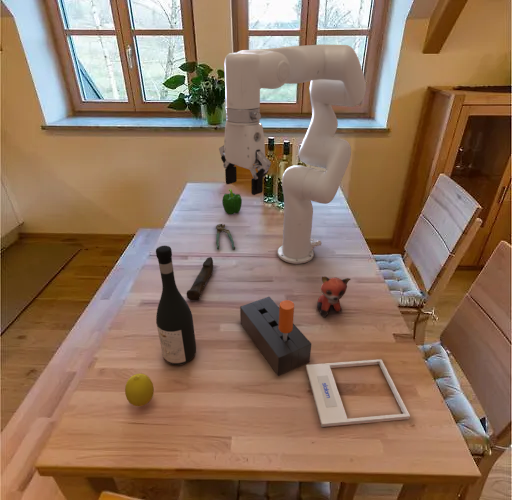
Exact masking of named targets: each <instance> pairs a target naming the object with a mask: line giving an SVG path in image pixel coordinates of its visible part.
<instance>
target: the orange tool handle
mask: <svg viewBox="0 0 512 500" xmlns="http://www.w3.org/2000/svg"><path fill="white" fill-rule="evenodd" d="M294 315H295V303H294V302H293V301H291V300H289V299H285V300H282V301H280V303H279V330H280V331H281V332H282V333H283V342H285V341H287V334H288V333H290V332H291V331H292V330H293V324H294Z"/></svg>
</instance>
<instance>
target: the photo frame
mask: <svg viewBox="0 0 512 500" xmlns="http://www.w3.org/2000/svg"><path fill="white" fill-rule="evenodd" d="M373 365H374V366H375V365H379V367H380V369H381V371H382V373H383V375H384V378H385V379H386V381H387V384H388V386H389V387H390V390H391V392H392V394H393V396H394V398H395V400H396V402H397V404H398V406H399V408H400V410H401V412H402V413H397V414H385V415H383V414H382V415H373V416H361V417H349V418H348V416H347V413H346V410H345V407H344V405H343V401H342V399H341V396H340V393H339V390H338V387H337V383H336V380H335V378H334V375H333V372H332V369H335V368H336V369H337V368H347V367H360V366H361V367H362V366H373ZM305 370H306V374H307V378H308V380H309V385H310V389H311V392H312V396H313V400H314V404H315V408H316V411H317V415H318V419H319V423H320V426H321V427H322V428H325V427H334V426H336V427H337V426H347V425H348V426H349V425H357V424H368V423H369V424H370V423H379V422H381V423H382V422H392V421H402V420H410V419H411V414H410V413H409V411H408V409H407V407H406V405H405V402H404V401H403V399H402V397H401V395H400V393H399V392H398V389H397V387H396V385H395V383H394V381H393V379H392V377H391V375H390V373H389V371H388V369H387V367H386V365H385V363H384V360H383V359H382V358H378V359H364V360H353V361H351V360H350V361H338V362H327V363H325V362H324V363H312V364H305Z"/></svg>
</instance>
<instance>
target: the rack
mask: <svg viewBox="0 0 512 500" xmlns="http://www.w3.org/2000/svg"><path fill="white" fill-rule="evenodd" d="M279 308H280V306H279V305H277V303H276V302H275V301H274V300H273V298H271V296H267V297H263V298H261V299H259V300H254V301H252V302H249V303H246V304H243V305H241V306H239V312H240V316H239V317H240V325H241V327H242V328H243V329H244V330H245V332H246V333H247V335H248V337H249V338H250V339H251V340H252V342H253V343H254V345H255V346H256V347H257V349H258V350H259V352H260V353H261V354H262V356H263V357H264V359H265V360H266V361H267V363H268V364H269V366H270V367H271V369H272V370H273V371H274V373H275V374H276V376H278V377H279V376H281V375H284V374H285V373H288V372H290V371H292V370H294V369H295V370H296V368H300V367H301V366H304V365H307V364H308V363H310V362H311V354H312V353H311V352H312V342H311V341H310V340H309V339H308V338H307V336H305V334H304V333H303V332H302V331H301V330H300V329H299V328H298V326H296V324H294V323H293V330H292V331H291V332H290V333H288V334H287V341H285V342H283V333H282V332H281V331H280V330H279Z"/></svg>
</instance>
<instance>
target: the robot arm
mask: <svg viewBox="0 0 512 500" xmlns="http://www.w3.org/2000/svg"><path fill="white" fill-rule="evenodd" d="M307 82H310V84H309V96H310V97H309V98H310V105H311V114H312V115H311V120H310V123H309V126H308V128H307V130H306V133H305V135H304V137H303V139H302V142H301V145H300V147H299V151H298V158H299V160H300V162H301V163H303V164H305V165H309V166H312V167H309V166H304V165H291V166H288V167H287V168H286V169H285V170H284V171H283V174H282V177H281V188H282V193H283V222H282V226H283V227H282V228H283V229H282V245H280V246H279V247H278V249H277V256H278V258H279V259H280V260H282V261H284V262H286V263H288V264H295V265H300V264H305V263H308V262H310V261H311V260H313V258H314V256H315V255H314V254H315V251H314V250H313V249H315V248H316V247H319V246H322V241H321V240H320V239H318V240H314V238H312V227H313V217H314V207H313V203H312V202H315V203H318V204H324V205H327V204H330V203H331V202H332V201H333V200H334V198H335V197H336V196H337V195H336V194H337V193H338V190H339V188H340V186H341V183H342V181H343V179H344V176H345V173H346V171H347V168H348V166H349V163H350V160H351V155H352V147H351V144H350V143H349V141H348V140H346V139H344V138H340V137H335V135H336V132H337V129H338V127H339V122H338V119H337V115H336V113H335V111H334V108H333V106H341V107H349V108H352V107H353V108H354V107H356V106H359V105H361V103H362V102H363V101H364V98H365V96H366V91H367V84H366V79H365V75H364V72H363V69H362V65H361V62H360V59H359V57H358V54H357V53H356V51H355V50H354V48H353V47H352V46H350V45H348V44H307V45H292V46H280V47H275V48H273V47H272V48H257V49H242V50H238V51H237V52H229V53H228V54H226V56H225V57H224V87H225V88H224V89H225V119H226V121H225V126H224V141H223V142H224V143H223V145H222V146H220V147H219V148H218V151H219V154H220V156H221V157H220V159H221V161H222V163H223V168H224V171H225V172H224V173H225V174H224V175H225V184H226V185H231V184H234V183H237V181H238V179H237V177H238V176H237V173H238V172H237V166H238V167H239V168H243V169H246V170H249V171H250V174H251V175H252V177H253V178H251V185H250V186H251V188H250V189H251V190H250V192H251V195H252V196H256V195H258V194H261V193H263V191H264V178H265V177H266V175H267V174H268V173H269V170H270V167H271V165H272V162H271V161H270V160H269V158H268V157H267V156H266V143H265V134H264V127H263V123H262V122H261V121H260V120H261V118H262V114H261V109H260V108H261V89H267V90H276V89H279V88H281V87H283V86H284V85H285V84H287V85H289V84H290V85H291V84H292V85H293V84H294V85H295V84H302V83H307ZM313 167H316V168H313ZM317 168H321V169H317ZM323 169H325V170H323Z"/></svg>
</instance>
